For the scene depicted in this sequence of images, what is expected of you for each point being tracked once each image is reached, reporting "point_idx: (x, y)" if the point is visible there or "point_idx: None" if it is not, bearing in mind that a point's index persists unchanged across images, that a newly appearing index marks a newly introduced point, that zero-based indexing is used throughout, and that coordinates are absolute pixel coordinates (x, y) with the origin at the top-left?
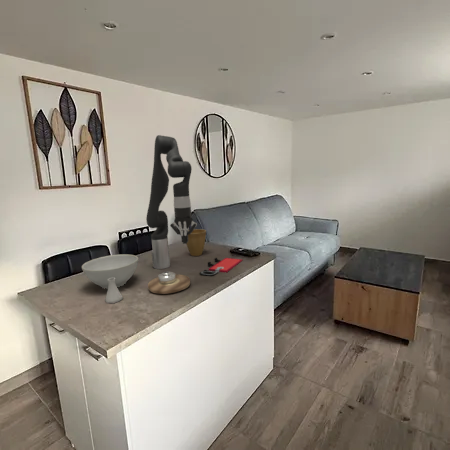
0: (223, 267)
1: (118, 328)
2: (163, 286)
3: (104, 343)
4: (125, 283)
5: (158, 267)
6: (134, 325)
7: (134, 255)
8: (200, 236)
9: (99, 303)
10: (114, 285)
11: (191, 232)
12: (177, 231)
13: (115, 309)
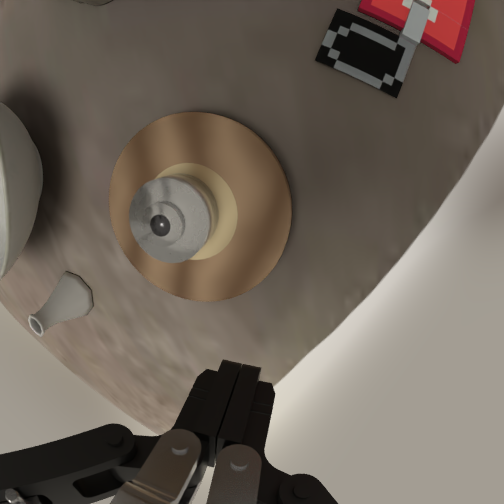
0: (433, 6)
1: (171, 417)
2: (182, 266)
3: None
4: (42, 169)
5: (96, 3)
6: None
7: None
8: None
9: None
10: (54, 321)
11: (317, 498)
12: (113, 488)
13: (112, 346)
